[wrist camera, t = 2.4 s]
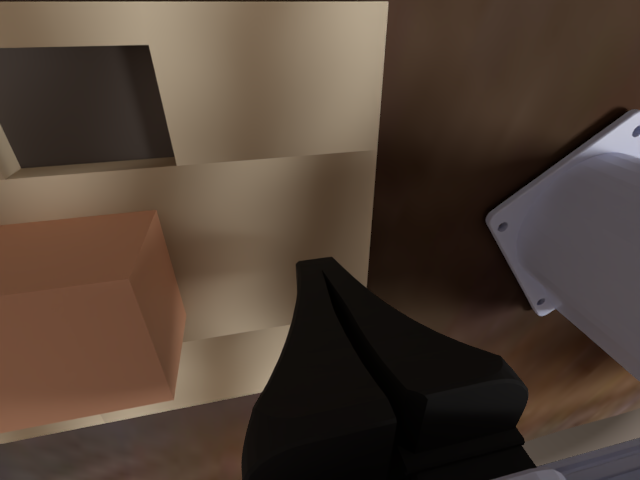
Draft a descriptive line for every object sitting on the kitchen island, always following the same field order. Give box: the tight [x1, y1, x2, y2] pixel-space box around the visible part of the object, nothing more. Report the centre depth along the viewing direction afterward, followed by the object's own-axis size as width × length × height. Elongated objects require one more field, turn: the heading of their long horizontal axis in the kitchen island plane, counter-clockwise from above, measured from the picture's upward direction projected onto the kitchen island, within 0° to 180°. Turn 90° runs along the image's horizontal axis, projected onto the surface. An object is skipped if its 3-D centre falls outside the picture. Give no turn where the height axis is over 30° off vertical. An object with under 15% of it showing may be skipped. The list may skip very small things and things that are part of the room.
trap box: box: [0, 2, 388, 444], centre depth 13 cm, size 22×17×3 cm
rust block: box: [0, 210, 186, 433], centre depth 11 cm, size 5×5×4 cm
